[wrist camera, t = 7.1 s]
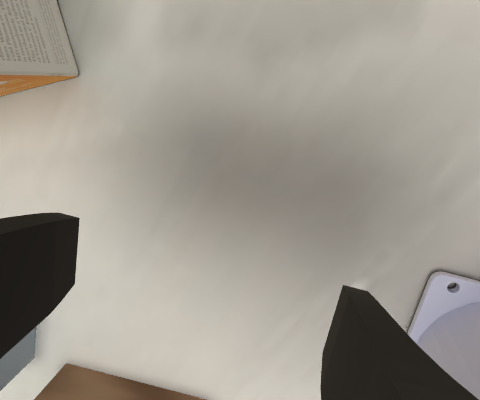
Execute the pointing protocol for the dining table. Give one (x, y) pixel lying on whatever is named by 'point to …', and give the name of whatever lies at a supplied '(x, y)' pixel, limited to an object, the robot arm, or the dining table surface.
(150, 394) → the walnut block
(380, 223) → the dining table surface
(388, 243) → the dining table surface
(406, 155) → the dining table surface
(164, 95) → the dining table surface
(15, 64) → the small box
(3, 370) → the slate-blue cube
